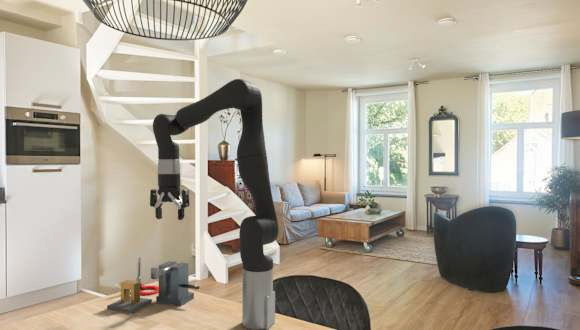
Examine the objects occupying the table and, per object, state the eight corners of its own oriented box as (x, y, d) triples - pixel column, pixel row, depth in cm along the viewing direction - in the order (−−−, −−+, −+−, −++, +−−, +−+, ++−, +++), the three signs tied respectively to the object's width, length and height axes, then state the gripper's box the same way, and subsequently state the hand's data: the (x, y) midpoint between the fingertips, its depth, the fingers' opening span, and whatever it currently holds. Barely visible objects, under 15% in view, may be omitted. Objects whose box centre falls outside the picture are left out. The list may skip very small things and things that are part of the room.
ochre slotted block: (139, 302, 138) (139, 281, 138) (133, 305, 135) (133, 284, 135) (127, 300, 140) (127, 279, 140) (120, 303, 137) (120, 282, 137)
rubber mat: (151, 302, 141) (151, 299, 141) (131, 313, 131) (131, 309, 131) (128, 299, 144) (128, 295, 144) (107, 309, 135) (107, 305, 135)
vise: (206, 300, 144) (206, 259, 144) (179, 317, 129) (179, 271, 129) (170, 294, 149) (170, 255, 149) (140, 310, 134) (140, 266, 134)
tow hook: (164, 290, 156) (142, 287, 157) (166, 256, 155) (143, 254, 157) (153, 297, 147) (129, 294, 149) (154, 262, 147) (131, 259, 149)
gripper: (193, 172, 142) (193, 218, 143) (158, 172, 147) (158, 217, 147) (181, 172, 135) (181, 221, 136) (144, 173, 140) (145, 220, 140)
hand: (169, 219), depth 141 cm, fingers open, 8 cm apart
